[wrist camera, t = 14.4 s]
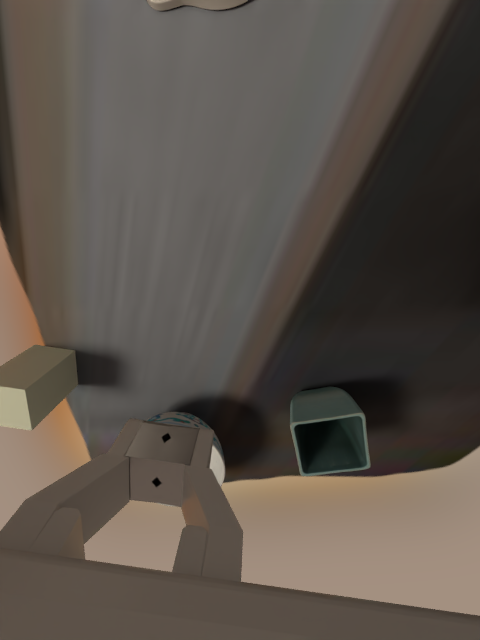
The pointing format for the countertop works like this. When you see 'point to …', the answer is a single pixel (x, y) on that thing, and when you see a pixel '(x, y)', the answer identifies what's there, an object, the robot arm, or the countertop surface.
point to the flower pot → (328, 432)
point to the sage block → (35, 385)
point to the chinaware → (192, 421)
